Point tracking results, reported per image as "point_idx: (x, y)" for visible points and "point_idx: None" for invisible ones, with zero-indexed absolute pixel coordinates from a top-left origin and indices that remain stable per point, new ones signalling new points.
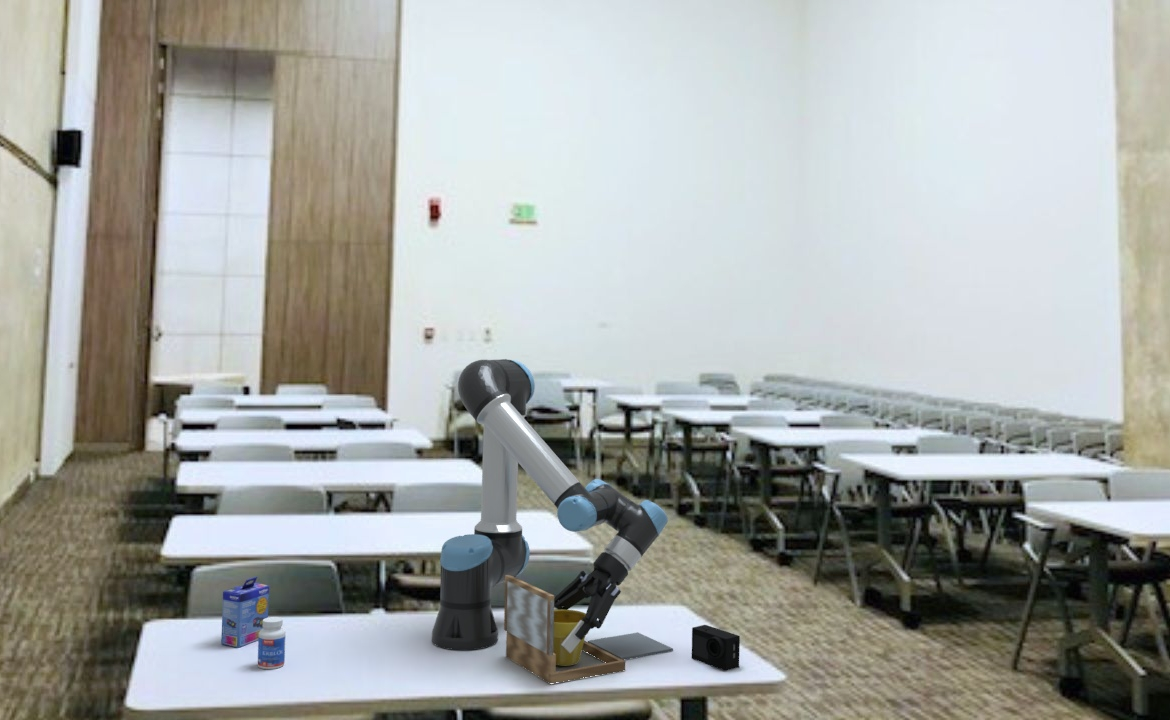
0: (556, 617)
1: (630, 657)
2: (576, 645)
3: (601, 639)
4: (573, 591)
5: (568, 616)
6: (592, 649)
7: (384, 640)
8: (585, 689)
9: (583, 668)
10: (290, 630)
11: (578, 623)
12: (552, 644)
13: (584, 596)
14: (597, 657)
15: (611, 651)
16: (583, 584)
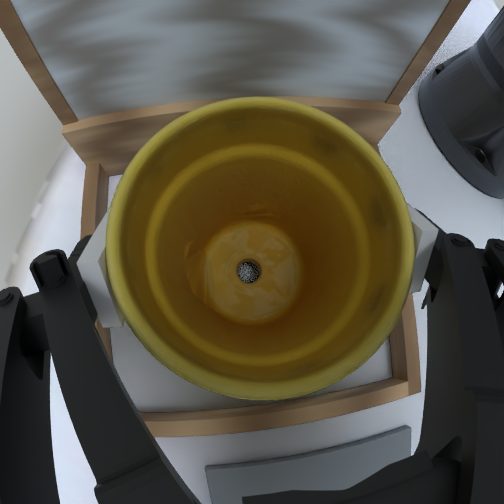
0: (382, 239)
1: (211, 496)
2: None
3: None
4: (493, 350)
5: (371, 307)
6: (291, 407)
7: (464, 47)
8: (31, 237)
9: None
10: (482, 16)
11: (99, 247)
12: (50, 101)
13: (422, 442)
14: (252, 407)
15: (281, 467)
16: (484, 463)
